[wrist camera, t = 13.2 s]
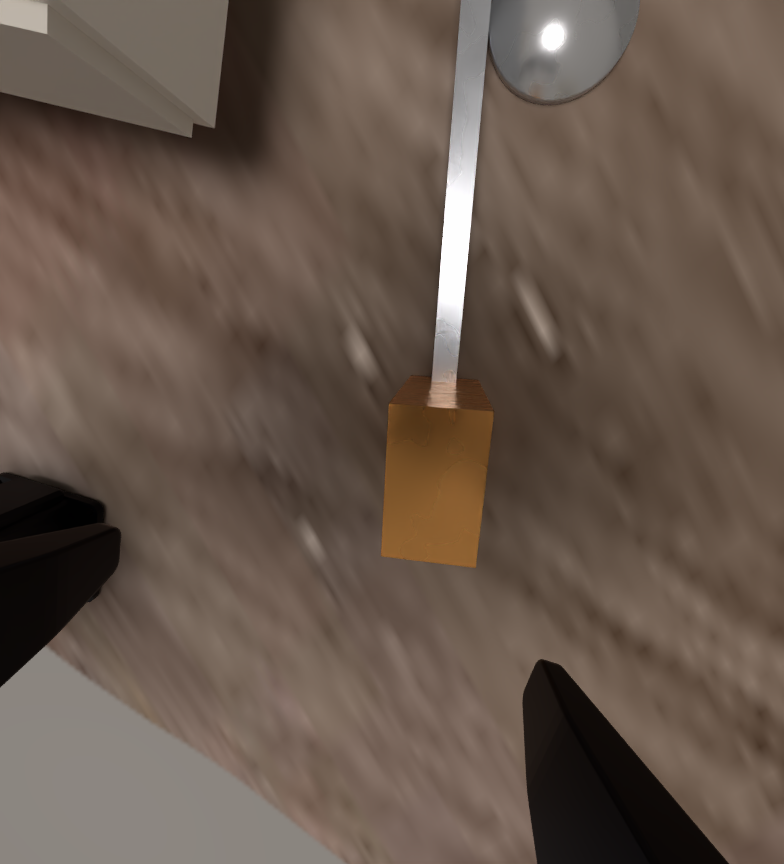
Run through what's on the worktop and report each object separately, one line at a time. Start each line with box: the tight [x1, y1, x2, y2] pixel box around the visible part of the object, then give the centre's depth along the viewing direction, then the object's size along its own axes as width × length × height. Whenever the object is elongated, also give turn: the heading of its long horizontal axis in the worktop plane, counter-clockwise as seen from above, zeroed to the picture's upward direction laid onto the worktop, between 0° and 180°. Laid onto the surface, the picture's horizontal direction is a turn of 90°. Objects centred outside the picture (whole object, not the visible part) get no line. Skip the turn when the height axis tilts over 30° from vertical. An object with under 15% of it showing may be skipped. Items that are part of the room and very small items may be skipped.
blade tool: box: [381, 0, 494, 568], centre depth 14 cm, size 20×3×7 cm, turn 177°
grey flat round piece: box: [488, 0, 640, 105], centre depth 15 cm, size 5×5×1 cm
